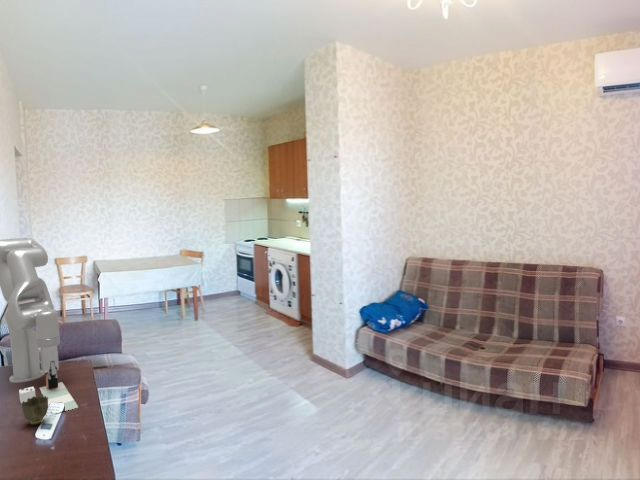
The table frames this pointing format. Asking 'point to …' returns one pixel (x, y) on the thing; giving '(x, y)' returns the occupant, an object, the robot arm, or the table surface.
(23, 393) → the die
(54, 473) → the table surface
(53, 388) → the pawn
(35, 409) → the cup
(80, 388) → the table surface
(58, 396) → the board
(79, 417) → the table surface
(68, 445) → the table surface
